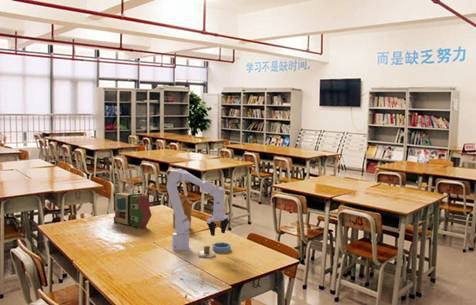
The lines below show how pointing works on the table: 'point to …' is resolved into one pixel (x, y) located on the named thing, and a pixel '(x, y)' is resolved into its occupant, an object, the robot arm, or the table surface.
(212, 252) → the lid
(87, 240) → the table surface
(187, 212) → the coffee package
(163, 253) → the table surface
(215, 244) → the bowl
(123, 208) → the model house
